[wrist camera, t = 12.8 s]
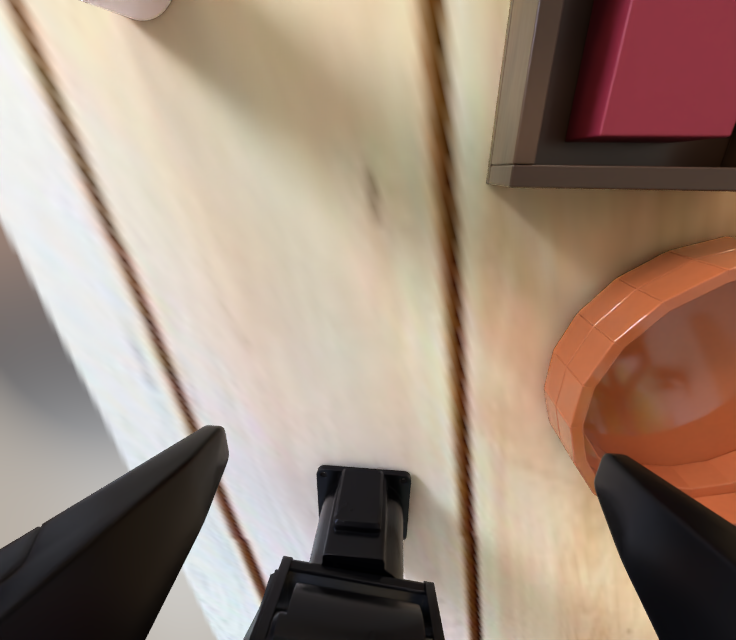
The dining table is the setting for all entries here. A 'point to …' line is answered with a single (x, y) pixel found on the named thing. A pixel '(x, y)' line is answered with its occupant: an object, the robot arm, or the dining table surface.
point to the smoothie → (133, 7)
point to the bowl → (656, 374)
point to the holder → (553, 109)
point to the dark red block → (656, 72)
